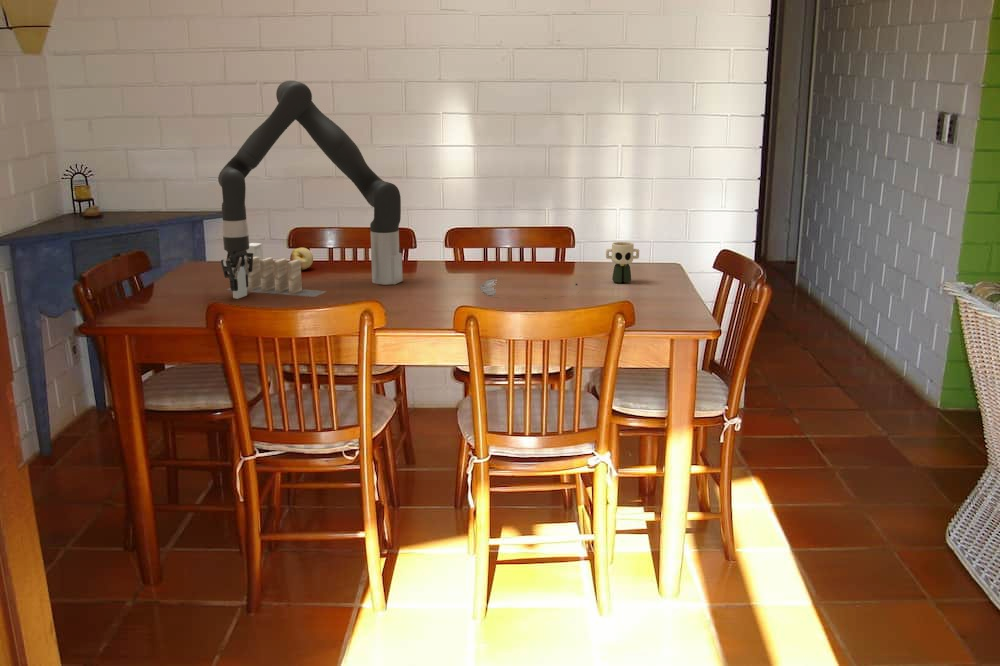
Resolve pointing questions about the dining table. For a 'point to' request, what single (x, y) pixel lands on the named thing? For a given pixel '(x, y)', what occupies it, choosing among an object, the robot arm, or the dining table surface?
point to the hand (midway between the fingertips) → (239, 288)
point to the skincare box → (256, 250)
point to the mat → (302, 293)
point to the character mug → (622, 260)
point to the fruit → (302, 257)
